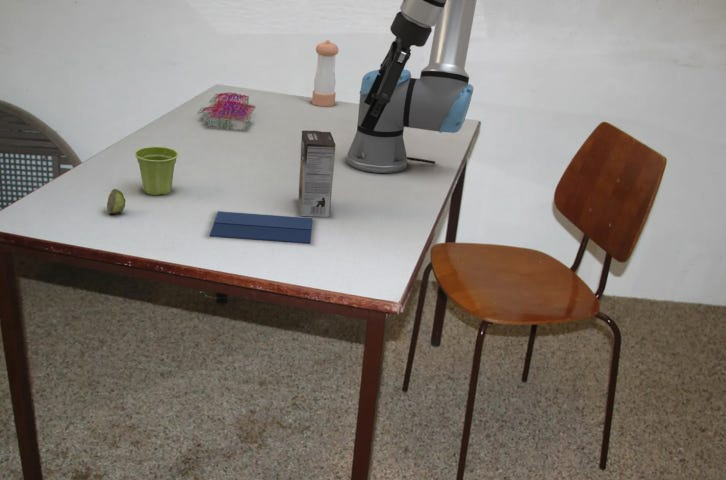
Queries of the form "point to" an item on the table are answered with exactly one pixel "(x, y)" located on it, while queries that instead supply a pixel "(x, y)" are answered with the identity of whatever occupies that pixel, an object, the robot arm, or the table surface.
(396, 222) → the table surface
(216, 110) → the pink and grey package
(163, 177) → the plant pot
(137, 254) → the table surface
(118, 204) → the lime
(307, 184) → the coffee box
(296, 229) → the napkin
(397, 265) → the table surface
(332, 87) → the pepper shaker
